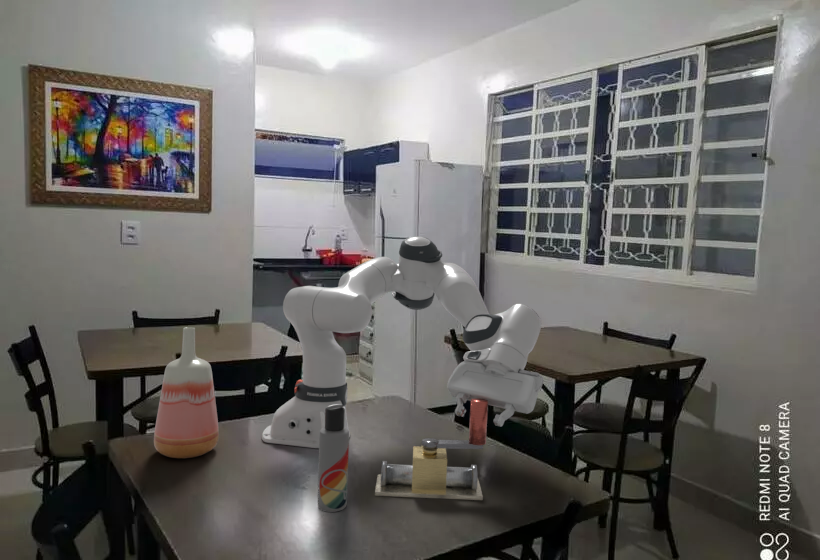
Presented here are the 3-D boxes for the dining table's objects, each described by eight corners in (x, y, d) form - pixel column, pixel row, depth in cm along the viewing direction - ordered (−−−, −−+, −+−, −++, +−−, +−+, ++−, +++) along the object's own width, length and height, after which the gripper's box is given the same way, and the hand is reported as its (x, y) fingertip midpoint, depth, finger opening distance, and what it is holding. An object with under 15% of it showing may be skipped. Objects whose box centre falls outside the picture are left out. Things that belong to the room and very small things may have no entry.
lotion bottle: (341, 514, 115) (344, 411, 113) (313, 510, 116) (316, 408, 114) (350, 501, 120) (353, 403, 119) (323, 498, 121) (326, 400, 120)
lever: (422, 449, 125) (424, 401, 124) (420, 443, 129) (422, 397, 128) (487, 450, 126) (489, 403, 125) (483, 444, 130) (486, 398, 129)
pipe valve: (374, 495, 123) (376, 453, 123) (377, 477, 132) (379, 438, 132) (482, 500, 123) (484, 458, 123) (478, 482, 132) (479, 442, 131)
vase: (214, 438, 153) (216, 322, 150) (222, 458, 140) (225, 332, 138) (152, 445, 146) (153, 324, 144) (155, 466, 133) (156, 334, 131)
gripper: (550, 383, 129) (526, 439, 122) (468, 367, 141) (443, 417, 134) (542, 365, 125) (517, 422, 118) (459, 351, 138) (432, 401, 131)
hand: (477, 419), depth 126 cm, fingers open, 8 cm apart
